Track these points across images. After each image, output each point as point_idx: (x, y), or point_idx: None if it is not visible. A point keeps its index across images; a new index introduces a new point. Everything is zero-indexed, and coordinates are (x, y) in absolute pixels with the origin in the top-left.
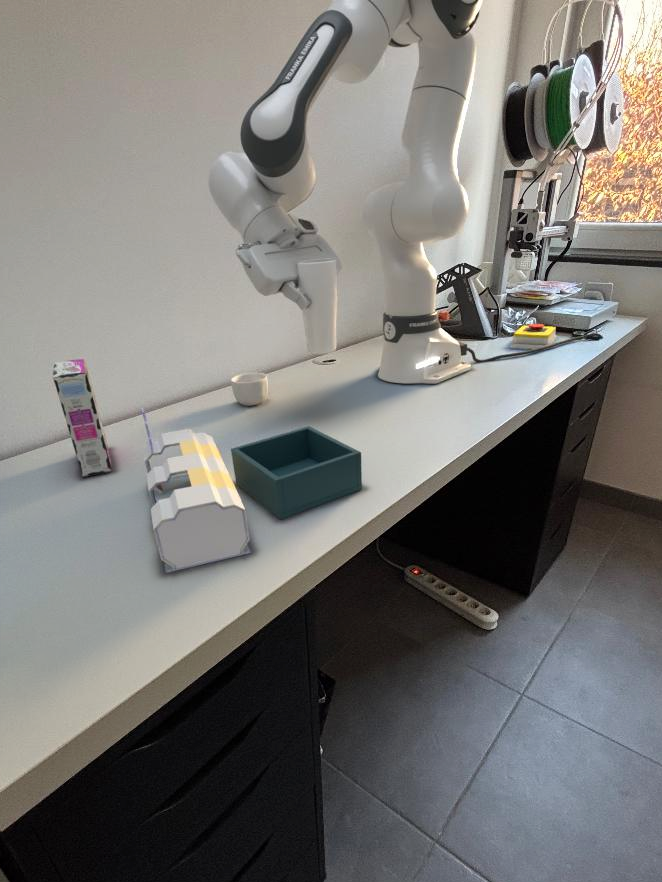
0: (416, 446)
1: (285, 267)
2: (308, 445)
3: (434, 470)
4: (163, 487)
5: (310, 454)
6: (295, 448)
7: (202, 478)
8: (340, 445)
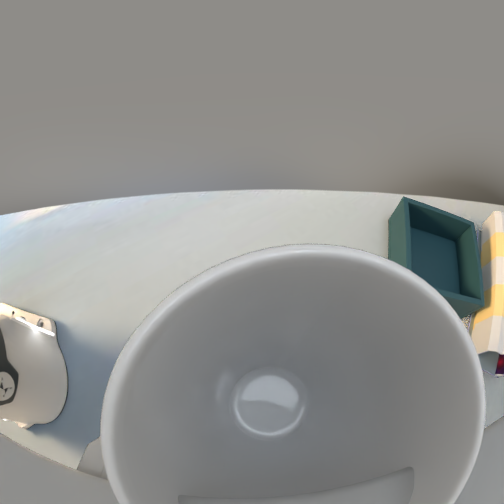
0: (276, 228)
1: (502, 483)
2: None
3: (315, 190)
4: (497, 360)
5: None
6: None
7: None
8: (409, 219)
